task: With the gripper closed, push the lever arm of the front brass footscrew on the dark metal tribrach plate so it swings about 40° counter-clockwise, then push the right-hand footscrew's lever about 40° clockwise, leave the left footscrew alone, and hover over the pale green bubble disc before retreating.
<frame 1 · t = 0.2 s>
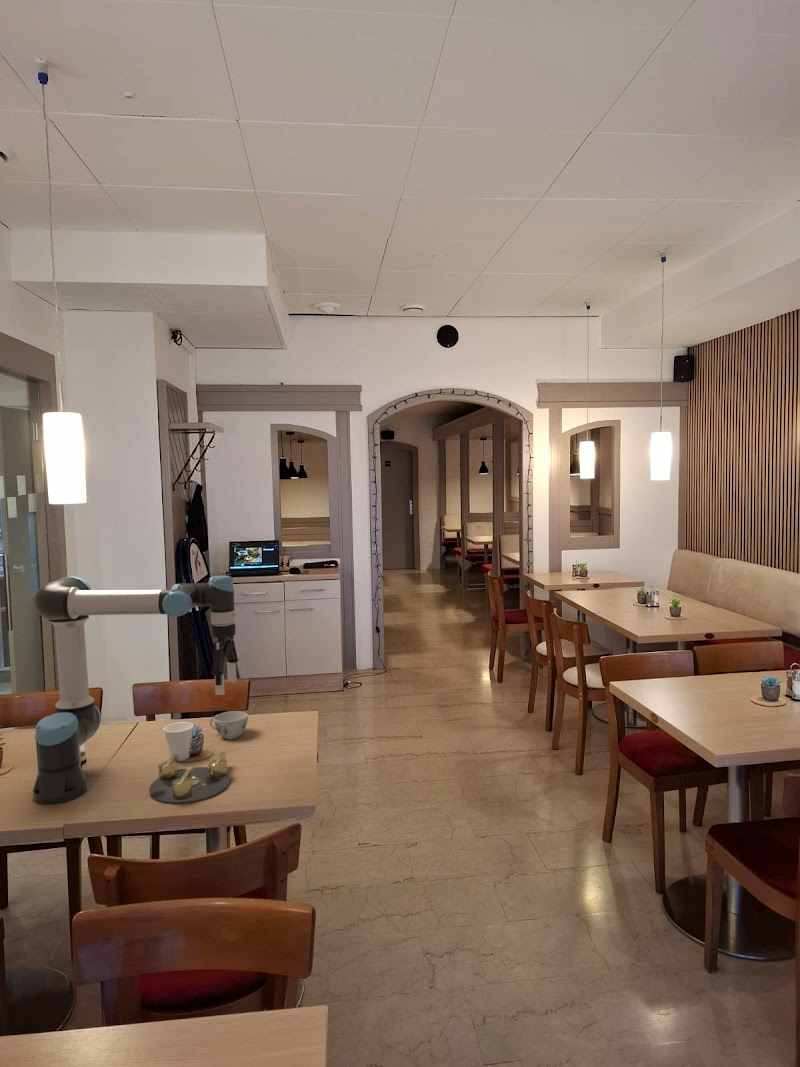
hand: (226, 688, 230), 27 cm above the table, fingers open, 13 cm apart
knob front: (185, 782, 214), point 4 cm above the table, hinge at 0.0°
tribrach plate: (190, 786, 220), on the table
knob left: (171, 765, 227), point 4 cm above the table, hinge at 0.0°
knob right: (220, 763, 228), point 4 cm above the table, hinge at 0.0°
teacup: (228, 737, 262), on the table
cup: (180, 758, 242), on the table
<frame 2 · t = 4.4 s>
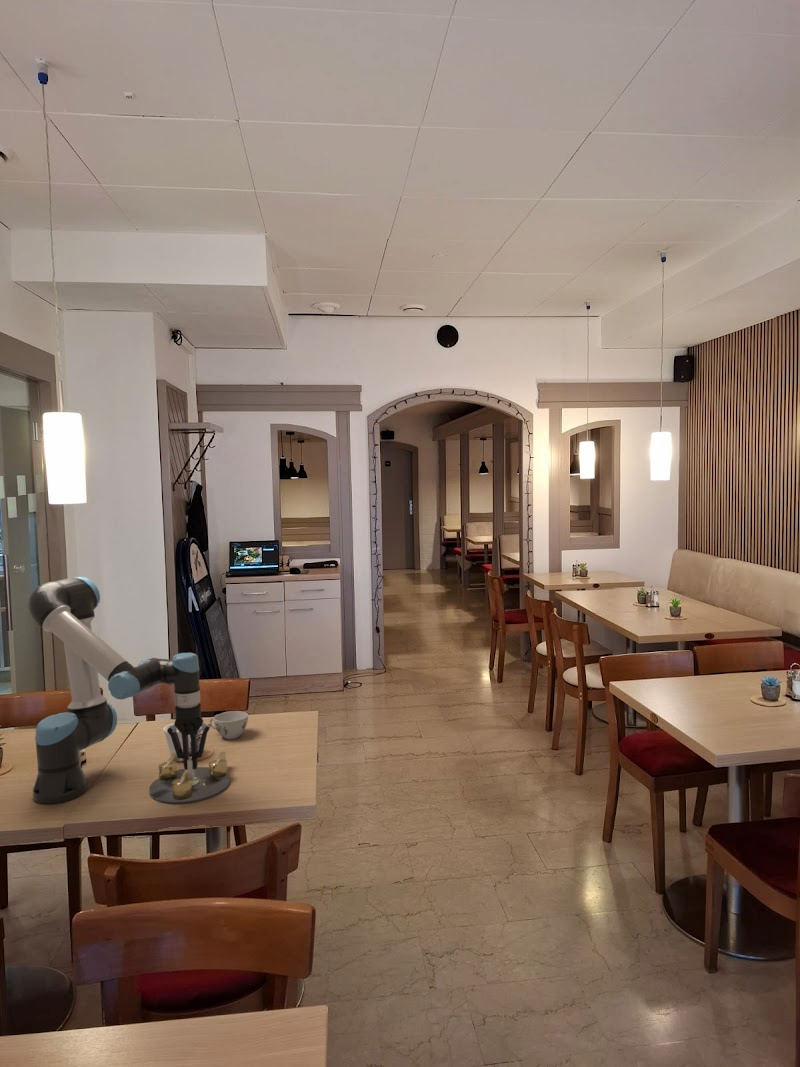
hand: (191, 779, 217), 3 cm above the table, fingers closed
knob front: (184, 782, 214), point 4 cm above the table, hinge at 2.1°, touching gripper
everything else where it was.
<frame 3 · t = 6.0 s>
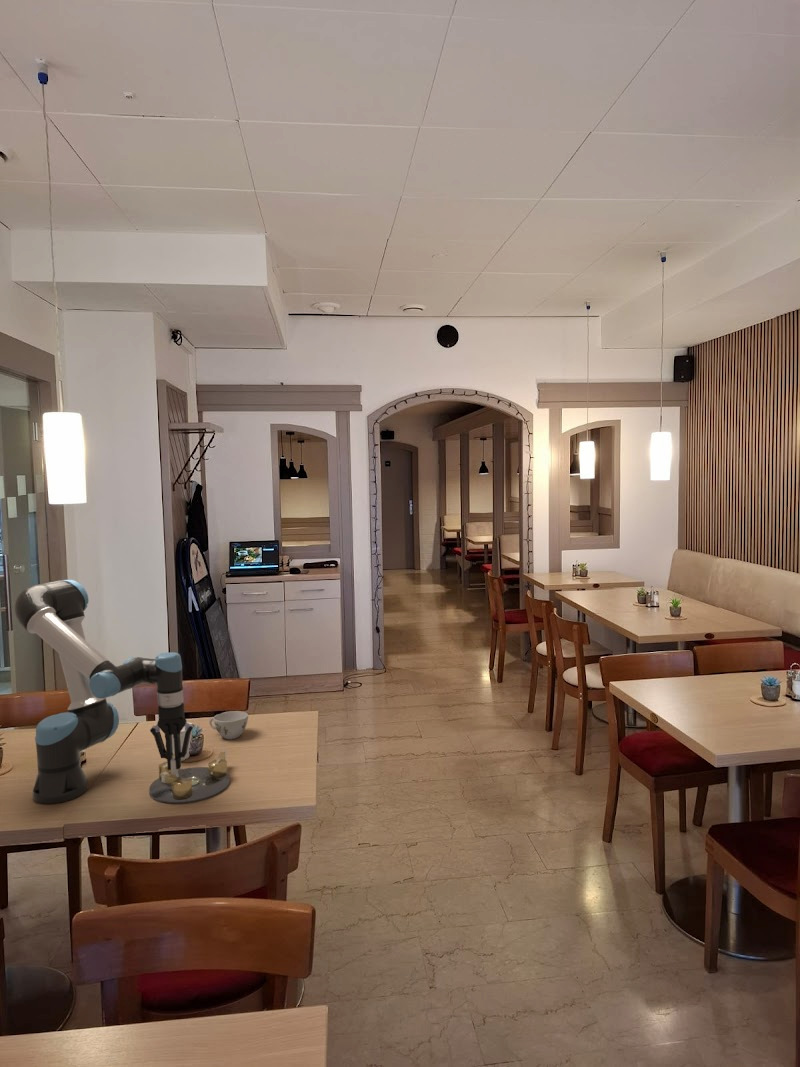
hand: (175, 779, 217), 4 cm above the table, fingers closed
knob front: (175, 784, 213), point 4 cm above the table, hinge at 47.1°, touching gripper
everything else where it was.
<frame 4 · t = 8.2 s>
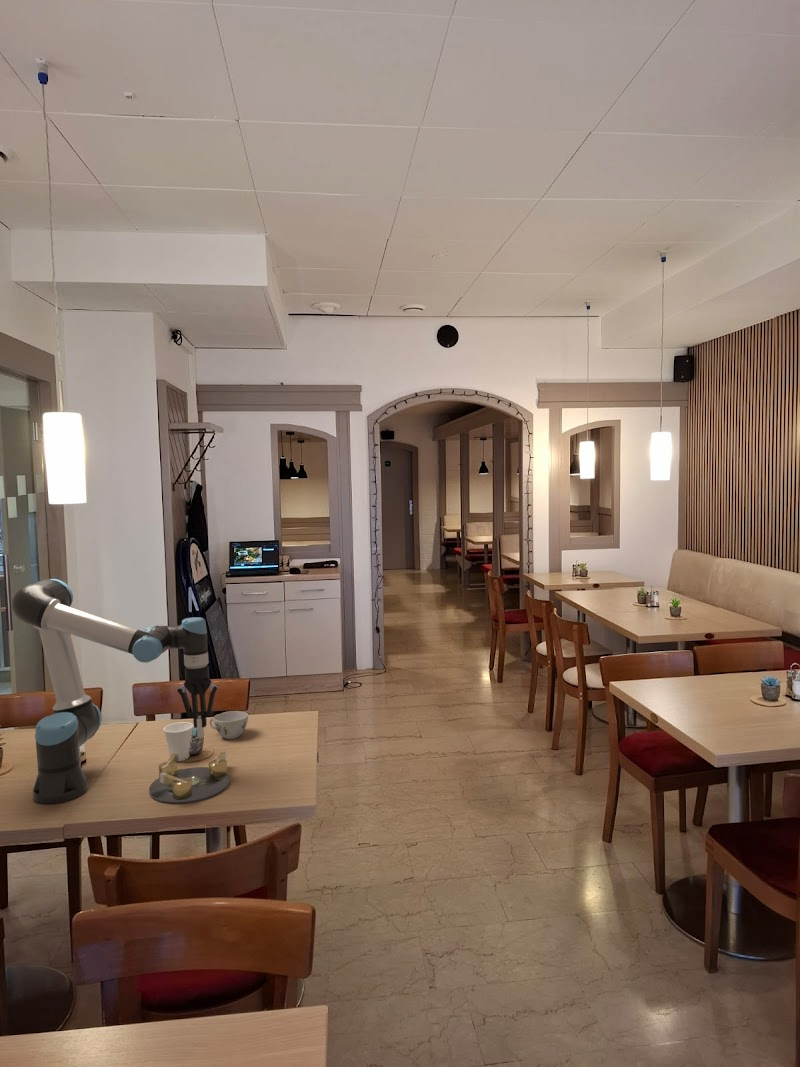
hand: (201, 736, 230), 12 cm above the table, fingers closed
knob front: (174, 784, 213), point 4 cm above the table, hinge at 50.3°
everything else where it was.
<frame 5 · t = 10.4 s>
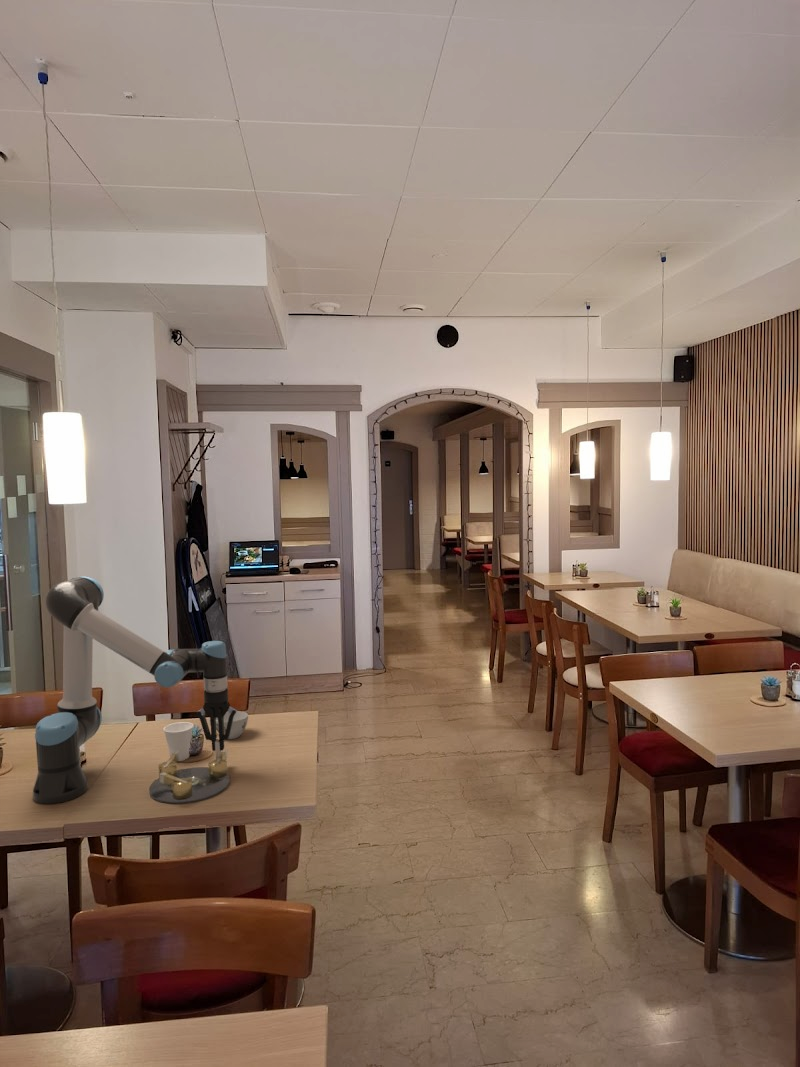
hand: (218, 759, 231), 4 cm above the table, fingers closed
knob right: (220, 763, 228), point 4 cm above the table, hinge at -2.8°, touching gripper
everything else where it was.
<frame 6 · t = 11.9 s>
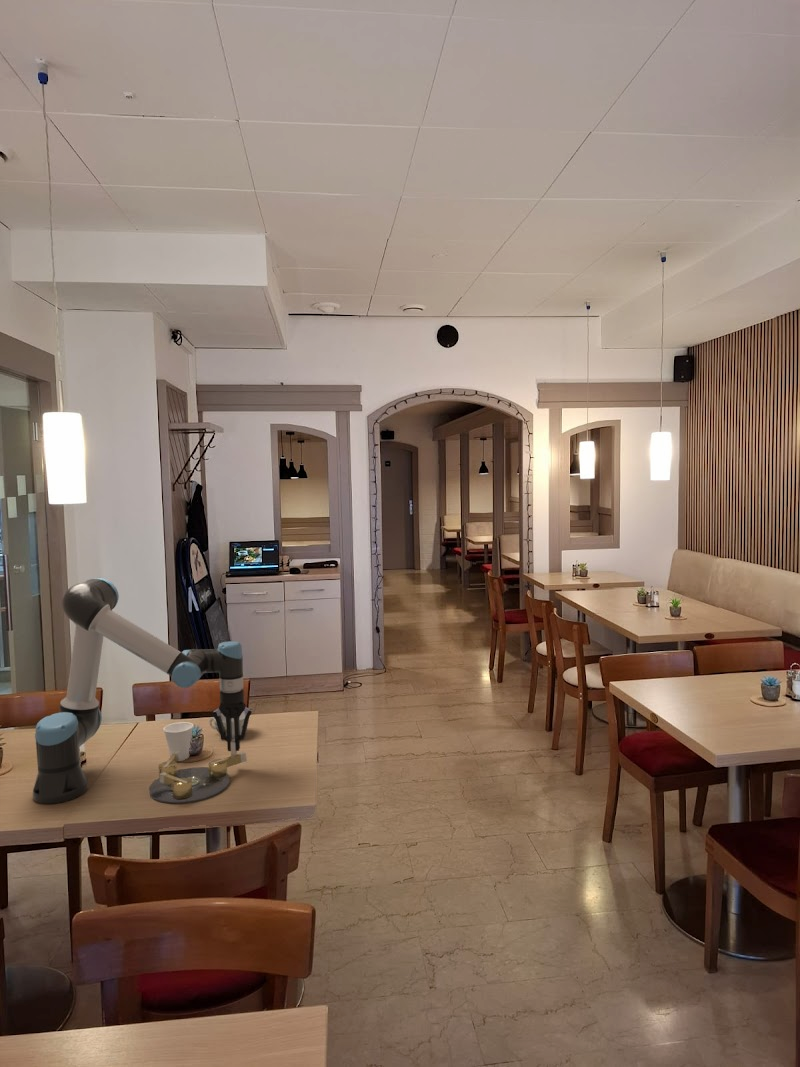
hand: (234, 760, 231), 3 cm above the table, fingers closed
knob right: (227, 764, 227), point 4 cm above the table, hinge at -47.9°, touching gripper
everything else where it was.
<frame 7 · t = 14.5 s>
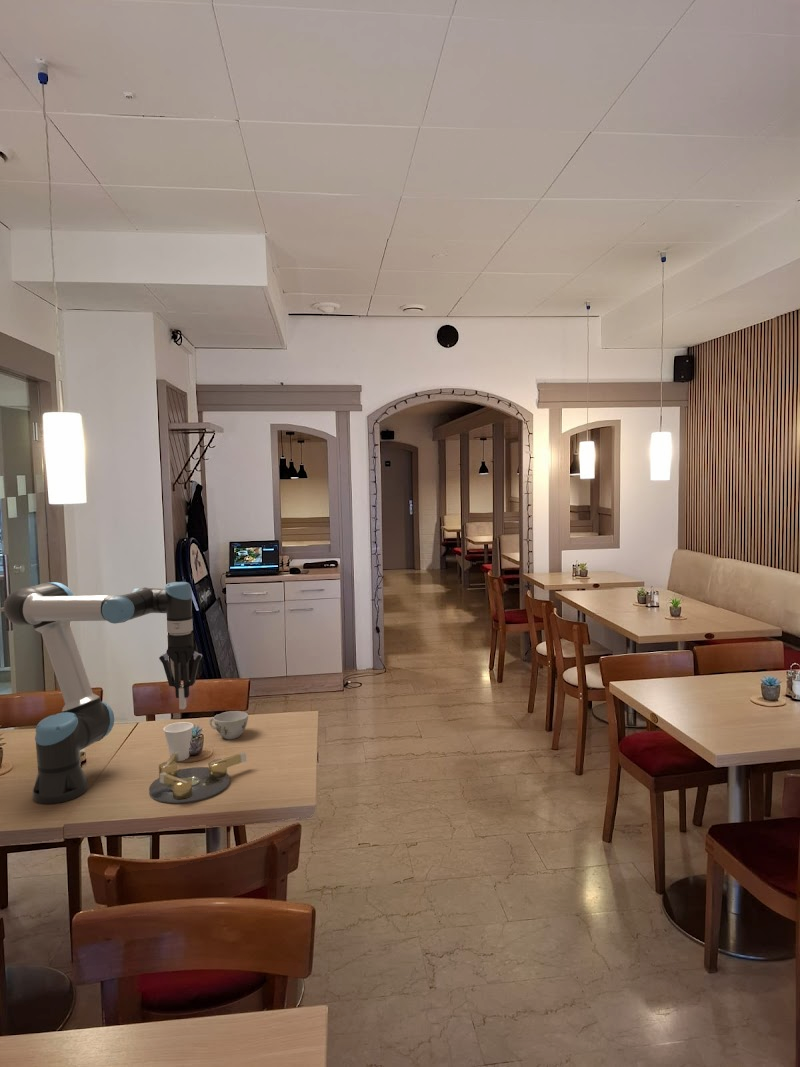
hand: (183, 707, 219), 25 cm above the table, fingers closed
knob right: (227, 764, 227), point 4 cm above the table, hinge at -48.1°
everything else where it was.
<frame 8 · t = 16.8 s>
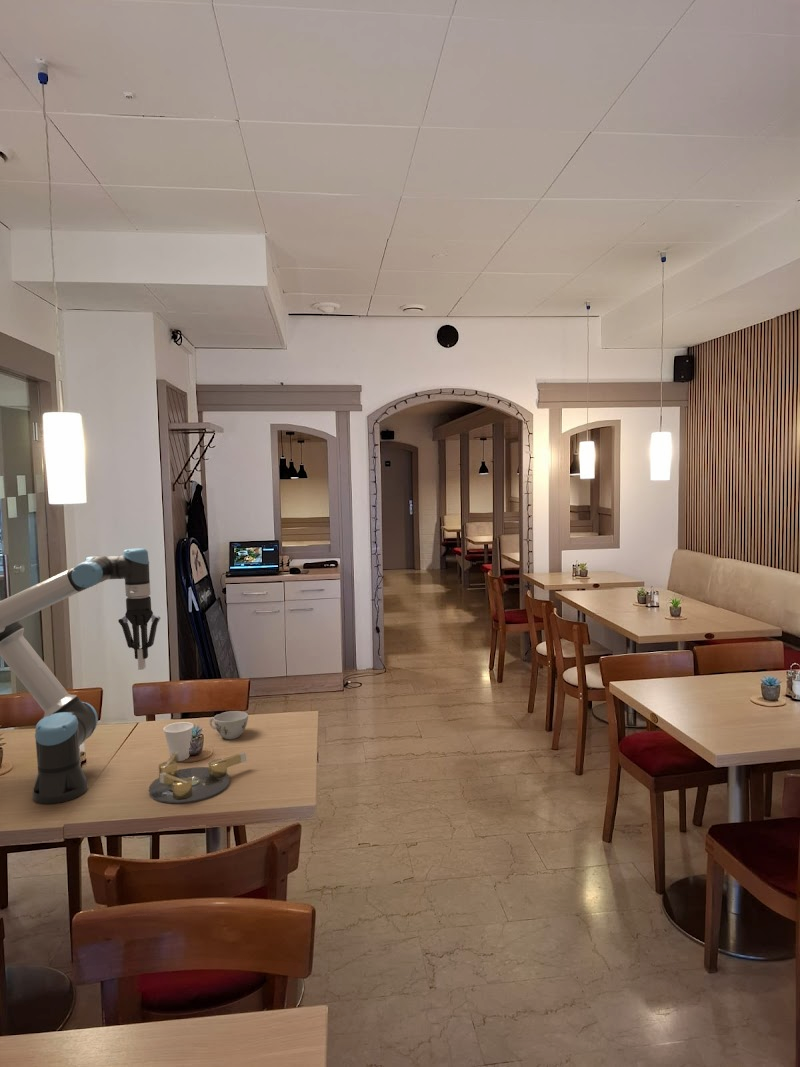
hand: (142, 668, 229), 34 cm above the table, fingers closed
nothing on the table moved.
at the end: knob front at +50° (first picture: +0°); knob right at -48° (first picture: +0°); knob left at +0° (first picture: +0°) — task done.
